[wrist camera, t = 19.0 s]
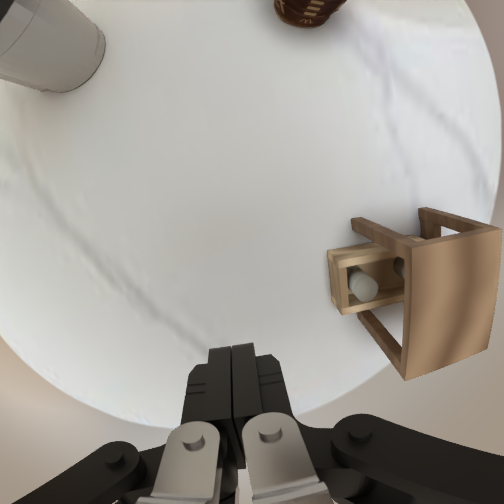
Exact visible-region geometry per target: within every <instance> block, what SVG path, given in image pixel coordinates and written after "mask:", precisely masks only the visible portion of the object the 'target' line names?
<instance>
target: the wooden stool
mask: <svg viewBox="0 0 504 504" xmlns="http://www.w3.org/2000/svg"><path fill="white" fill-rule="evenodd" d="M418 209H419V219H420V221H421V238H423V239H425V240H423V241H418V242H417V241H415V240H412V239H410V238H408V237H406V236H404V235H401V234H399V233H397V232H395V231H392V230H390V229H388V228H386V227H383V226H381V225H379V224H376V223H374V222H372V221H369V220H367V219H365V218H362V217H359V218H352V219H351V221H352V230H354V231H356V232H358V233H360V234H361V235H363V236H365V237H367V238H368V239H370V240H372V241H374V242H375V243H377V244H379V245H380V246H382V247H384V248H386V249H387V250H389V251H391V252H392V253H394V254H396V255H397V256H399V257H401V258H403V259H404V263H405V291H404V322H403V339H402V347H401V346H400V345H399V344H398V342H397V341H396V340H395V339H394V338H393V336H392V335H391V334H390V333H389V332H388V331H387V329H386V328H385V327H384V326H383V325H382V324H381V322H380V321H379V320H378V319H377V318H376V317H375V316H374V314H373V313H372V312H371V311H370V310H369V309H368V310H364V311H360V312H357V313H358V318H359V320H360V321H361V322H362V324H363V325H364V326H365V328H366V329H367V330H368V332H369V333H370V334H371V336H372V337H373V338H374V340H375V341H376V342H377V344H378V345H379V346H380V348H381V349H382V351H383V352H384V353H385V355H386V356H387V357H388V359H389V360H390V361H391V363H392V364H393V365H394V367H395V368H396V370H397V371H398V372H399V374H400V375H401V377H402V378H403V379H404V381H407V380H410V379H413V378H416V377H419V376H422V375H424V374H427V373H430V372H432V371H435V370H438V369H440V368H443V367H445V366H448V365H451V364H453V363H455V362H458V361H460V360H463V359H465V358H468V357H470V356H472V355H474V354H477V353H479V352H481V351H483V350H485V349H487V348H488V343H489V338H490V333H491V328H492V323H493V317H494V311H495V305H496V298H497V290H498V280H499V271H500V260H501V242H502V229H501V228H498V227H495V226H491V225H488V224H485V223H481V222H478V221H475V220H471V219H468V218H464V217H461V216H457V215H454V214H450V213H447V212H443V211H439V210H435V209H431V208H428V207H424V208H418ZM441 226H443V227H446V228H449V229H452V230H455V231H457V232H460V233H458V234H453V235H448V236H443V237H441Z"/></svg>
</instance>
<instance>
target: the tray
mask: <svg viewBox="0 0 504 504" xmlns="http://www.w3.org/2000/svg"><path fill="white" fill-rule="evenodd" d="M406 237H408V238H410V239H412V240H415V241H417V242H418V241H423V240H425V239H423V238H420V237H418V236H416V235H409V236H406ZM327 253H328V263H329V273H330V284H331V296H332V301H333V303H334V304H335V306H336V307H337V309H338V310H339V312H340V313H341V315H347V314H351V313H356V312H360V311H364V310H368V309H373V308H377V307H381V306H385V305H389V304H393V303H397V302H401V301H404V291H405V263H404V259H403V258H401V257H399V256H397V255H396V254H394V253H392V252H391V251H389V250H387V249H386V248H384V247H382V246H380V245H379V244H377V243H375V242H371V243H366V244H360V245H355V246H349V247H344V248H338V249H333V250H327Z"/></svg>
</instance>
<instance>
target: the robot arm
mask: <svg viewBox="0 0 504 504" xmlns="http://www.w3.org/2000/svg"><path fill="white" fill-rule="evenodd" d="M104 50H105V39H104V35H103V33H102V31H101V30H100V29H99V28H98V27H97V26H96V25H95V24H94V23H93V22H92V21H90V20H89V19H88V18H87V17H86V16H85V15H84V14H83V13H82V12H81V11H80V10H79V9H78V8H77V7H75V6H74V5H73V4H72V3H71V2H70V1H69V0H0V79H3V80H6V81H10V82H13V83H16V84H20V85H23V86H26V87H29V88H33V89H36V90H39V91H45V90H47V89H49V90H52V91H55V92H66V91H70V90H72V89H75V88H77V87H78V86H80V85H81V84H83V83H84V82H85V81H86V80H88V79H89V78H90V76H91V75H92V74H93V73H94V72H95V70H96V69H97V67H98V66H99V64H100V62H101V60H102V57H103V54H104ZM245 458H246V459H245ZM245 460H246V461H247V466H248V472H249V477H250V482H251V487H252V493H253V497H252V502H253V504H334V503H333V500H334V501H335V502H337V503H338V504H504V456H500V455H496V454H491V453H488V452H484V451H480V450H477V449H473V448H469V447H466V446H462V445H459V444H456V443H452V442H449V441H446V440H442V439H439V438H436V437H433V436H430V435H427V434H423V433H420V432H418V431H415V430H412V429H409V428H406V427H403V426H400V425H397V424H395V423H392V422H390V421H386V420H384V419H382V418H379V417H376V416H373V415H369V414H355V415H351V416H348V417H346V418H343V419H342V420H340V421H339V422H338V423H337V424H336V425H335V426H334V428H331V429H330V428H313V427H308V426H306V425H303V424H301V423H300V422H299V421H297V420H296V419H295V417H294V416H293V413H292V410H291V406H290V402H289V398H288V394H287V390H286V386H285V382H284V378H283V375H282V371H281V367H280V363H279V361H278V360H277V359H276V358H275V357H273V356H272V355H271V354H269V355H263V356H257V357H256V355H255V350H254V344H253V343H247V344H241V345H234V346H232V348H231V346H228V347H220V348H213V349H209V356H208V364H199V365H196V366H195V367H194V368H193V370H192V371H191V372H190V374H189V376H188V382H187V388H186V395H185V400H184V406H183V412H182V418H181V425H180V426H178V427H177V428H175V429H174V430H173V431H172V432H171V433H170V435H169V437H168V439H167V442H166V444H164V445H162V446H160V447H156V448H152V449H148V450H144V451H140V452H138V450H137V449H136V447H135V446H133V445H132V444H130V443H127V442H123V441H115V442H110V443H107V444H105V445H103V446H102V447H100V448H99V449H97V450H96V451H94V452H93V453H91V454H90V455H88V456H87V457H85V458H84V459H83V460H81V461H79V462H78V463H76V464H75V465H73V466H72V467H70V468H69V469H67V470H66V471H64V472H63V473H61V474H59V475H58V476H56V477H55V478H53V479H52V480H50V481H48V482H47V483H45V484H44V485H42V486H41V487H39V488H37V489H36V490H34V491H32V492H31V493H29V494H27V495H26V496H24V497H22V498H21V499H19V500H17V501H16V502H14V503H12V504H112V503H114V502H115V501H116V500H118V502H116V503H115V504H239V487H238V469H246V461H245ZM332 499H333V500H332Z"/></svg>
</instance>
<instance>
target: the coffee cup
mask: <svg viewBox="0 0 504 504" xmlns="http://www.w3.org/2000/svg"><path fill="white" fill-rule="evenodd" d="M346 1H347V0H275V1H274V7H275V10H276V13H277V15H278V17H280V19H282V20H283V21H284V22H286V23H288V24H291V25H294V26H297V27H303V28H313V27H317V26H320V25H322V24H324V22H325V21H326V20H327V19H328V18H329V17H330V15H331V14H332V13H334V12H336V11H338V10H339V8H340V7H341V5H343V4H344V3H345V2H346Z"/></svg>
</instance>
